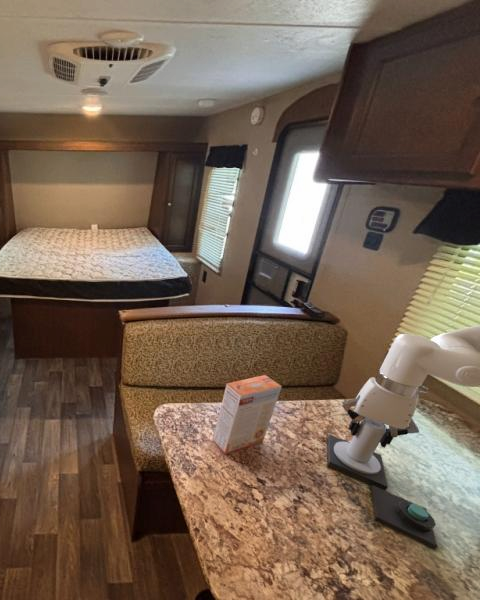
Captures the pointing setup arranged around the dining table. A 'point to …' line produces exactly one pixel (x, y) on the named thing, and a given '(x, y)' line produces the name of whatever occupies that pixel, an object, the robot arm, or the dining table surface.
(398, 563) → the dining table surface
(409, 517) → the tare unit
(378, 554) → the dining table surface
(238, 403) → the cracker box
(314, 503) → the dining table surface
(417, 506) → the button
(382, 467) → the scale
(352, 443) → the beverage can
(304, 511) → the dining table surface
